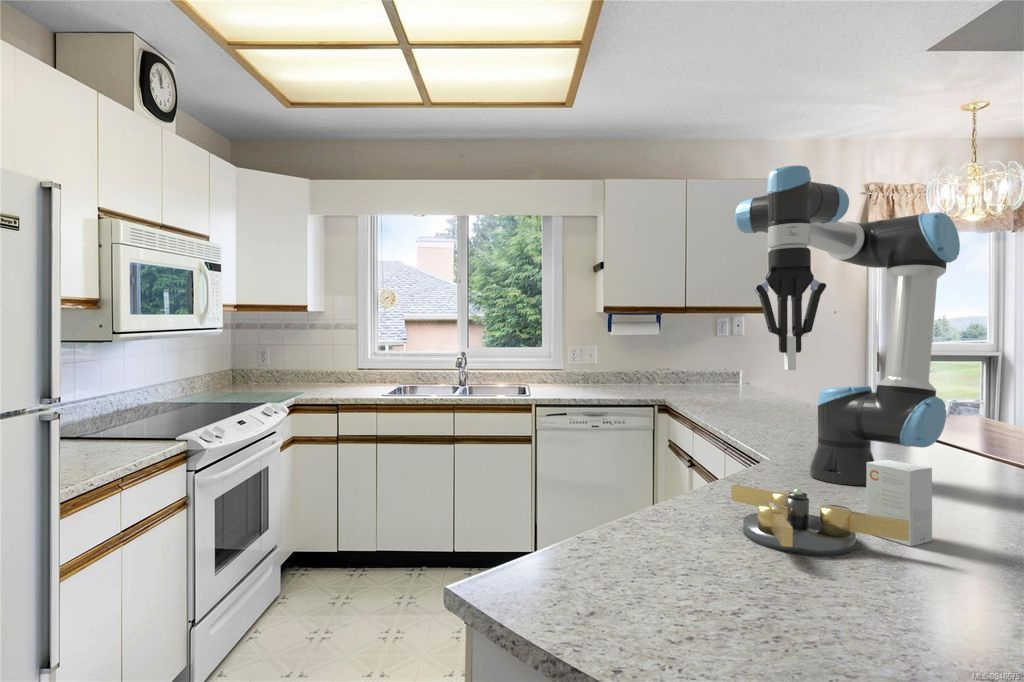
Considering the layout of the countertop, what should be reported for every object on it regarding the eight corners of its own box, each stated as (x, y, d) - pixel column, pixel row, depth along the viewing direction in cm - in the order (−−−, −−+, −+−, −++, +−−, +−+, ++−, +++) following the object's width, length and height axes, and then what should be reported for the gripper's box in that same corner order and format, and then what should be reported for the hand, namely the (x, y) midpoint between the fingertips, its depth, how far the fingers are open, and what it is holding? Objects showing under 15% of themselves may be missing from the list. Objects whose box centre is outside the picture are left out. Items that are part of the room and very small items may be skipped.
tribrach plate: (731, 520, 117) (732, 475, 117) (828, 523, 115) (829, 477, 115) (760, 554, 99) (761, 501, 99) (876, 558, 98) (876, 504, 97)
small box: (932, 541, 105) (933, 467, 105) (910, 547, 103) (911, 471, 102) (886, 528, 113) (887, 458, 112) (864, 533, 110) (865, 461, 110)
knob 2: (755, 524, 108) (755, 500, 108) (784, 526, 107) (784, 502, 107) (770, 549, 95) (770, 522, 95) (803, 552, 94) (803, 524, 94)
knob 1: (804, 515, 113) (804, 492, 113) (792, 520, 110) (792, 497, 110) (739, 501, 123) (739, 480, 123) (727, 505, 120) (727, 483, 120)
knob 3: (817, 532, 103) (817, 507, 103) (822, 525, 107) (822, 501, 107) (907, 548, 96) (908, 521, 96) (909, 540, 100) (909, 514, 100)
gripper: (757, 247, 115) (758, 371, 116) (831, 244, 112) (832, 371, 113) (749, 252, 122) (751, 368, 123) (819, 249, 120) (820, 368, 120)
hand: (790, 369), depth 118 cm, fingers closed
